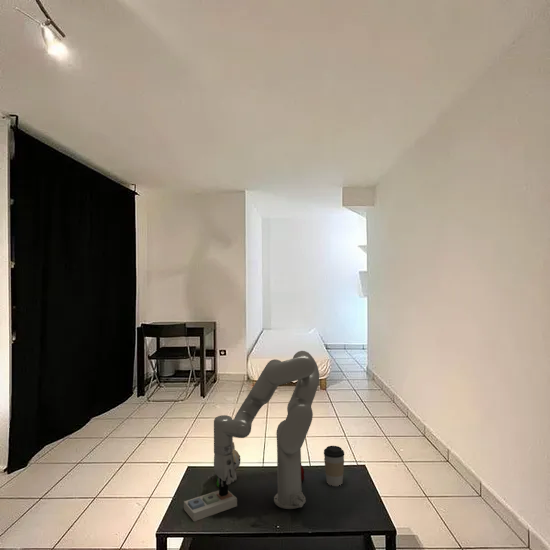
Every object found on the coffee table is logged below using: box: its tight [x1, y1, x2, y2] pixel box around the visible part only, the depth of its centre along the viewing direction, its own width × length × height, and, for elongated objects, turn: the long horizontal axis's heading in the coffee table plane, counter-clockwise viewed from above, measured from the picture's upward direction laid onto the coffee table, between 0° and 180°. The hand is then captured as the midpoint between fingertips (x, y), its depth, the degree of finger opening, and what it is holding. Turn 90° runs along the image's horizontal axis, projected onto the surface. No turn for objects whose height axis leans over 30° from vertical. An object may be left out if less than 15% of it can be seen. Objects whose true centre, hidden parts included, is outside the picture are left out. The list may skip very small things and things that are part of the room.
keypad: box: [183, 489, 238, 522], centre depth 156 cm, size 10×18×3 cm, turn 124°
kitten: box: [216, 441, 241, 488], centre depth 179 cm, size 15×10×15 cm
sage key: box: [203, 492, 219, 505], centre depth 157 cm, size 5×5×2 cm
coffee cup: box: [323, 445, 345, 487], centre depth 175 cm, size 9×9×15 cm
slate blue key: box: [188, 498, 204, 510], centre depth 153 cm, size 5×5×2 cm
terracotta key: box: [217, 491, 232, 500], centre depth 160 cm, size 5×5×2 cm
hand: (223, 494), depth 160 cm, fingers closed
